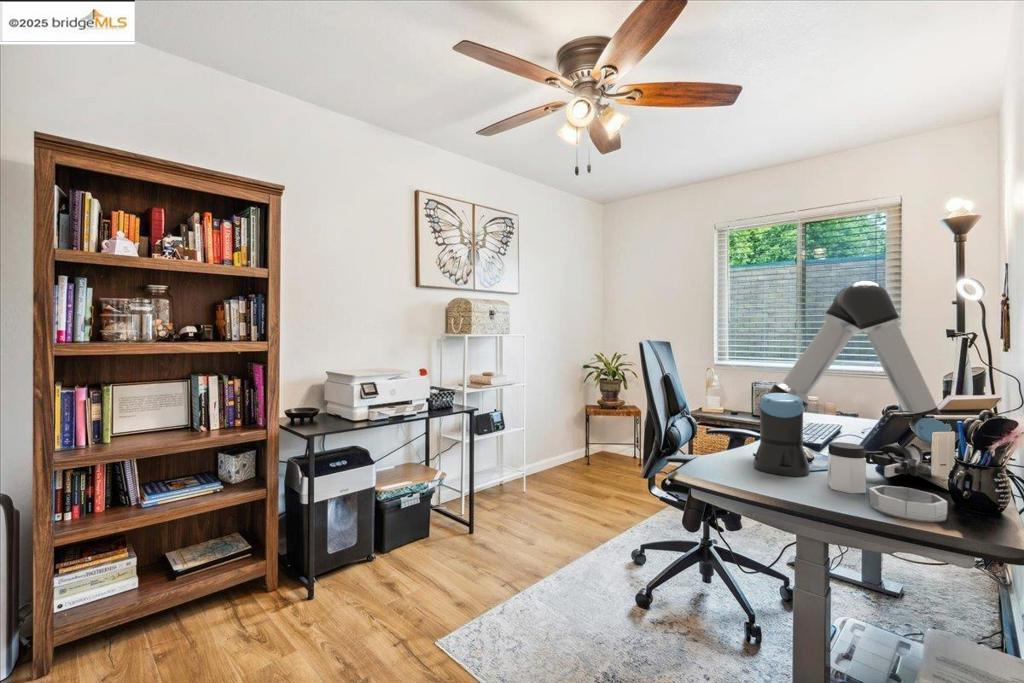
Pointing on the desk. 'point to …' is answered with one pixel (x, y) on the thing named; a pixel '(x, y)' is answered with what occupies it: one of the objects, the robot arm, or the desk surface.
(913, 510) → the grey octagonal tray
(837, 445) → the jar
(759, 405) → the robot arm
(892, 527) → the desk surface
